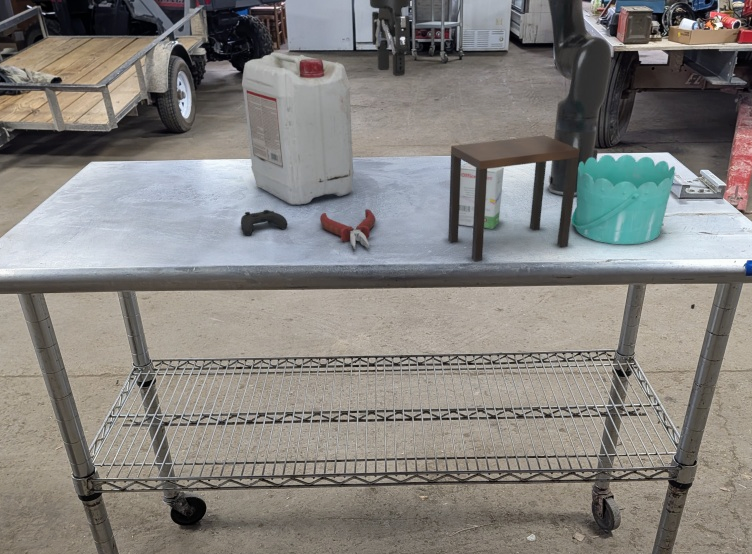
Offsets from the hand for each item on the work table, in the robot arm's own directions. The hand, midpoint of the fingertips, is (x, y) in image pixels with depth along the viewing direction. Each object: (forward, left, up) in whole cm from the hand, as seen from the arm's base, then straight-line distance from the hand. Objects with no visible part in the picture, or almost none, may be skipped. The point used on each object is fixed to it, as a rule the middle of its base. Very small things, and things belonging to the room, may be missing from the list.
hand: (390, 72), depth 142 cm
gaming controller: (+28, -3, -29) cm, 41 cm away
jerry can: (+13, -26, -29) cm, 41 cm away
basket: (-39, +27, -29) cm, 55 cm away
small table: (-15, +25, -29) cm, 41 cm away
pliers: (+13, +8, -29) cm, 33 cm away
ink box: (-15, +12, -29) cm, 35 cm away
